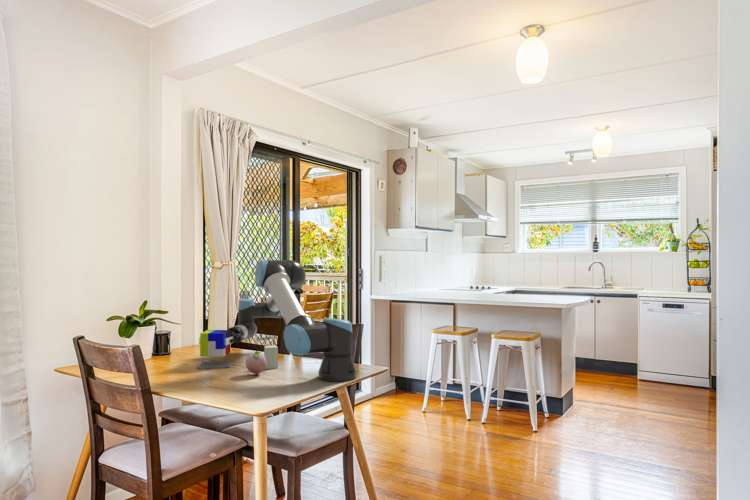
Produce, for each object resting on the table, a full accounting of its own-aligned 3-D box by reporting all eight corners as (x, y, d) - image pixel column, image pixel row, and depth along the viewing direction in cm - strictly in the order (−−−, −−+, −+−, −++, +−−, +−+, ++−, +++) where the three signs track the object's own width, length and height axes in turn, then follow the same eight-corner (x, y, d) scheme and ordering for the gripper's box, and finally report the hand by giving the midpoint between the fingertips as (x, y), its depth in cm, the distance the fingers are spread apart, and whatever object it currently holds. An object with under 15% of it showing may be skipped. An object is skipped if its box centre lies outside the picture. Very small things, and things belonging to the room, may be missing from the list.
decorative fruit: (244, 373, 210) (244, 348, 210) (265, 371, 212) (265, 347, 212) (246, 378, 201) (246, 352, 201) (267, 376, 203) (267, 351, 203)
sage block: (277, 368, 219) (277, 347, 219) (266, 369, 217) (266, 348, 217) (275, 365, 223) (275, 345, 224) (264, 366, 222) (264, 346, 222)
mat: (229, 367, 219) (229, 366, 219) (197, 369, 217) (197, 367, 217) (231, 361, 232) (231, 360, 232) (201, 362, 229) (201, 361, 229)
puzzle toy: (223, 356, 219) (223, 333, 219) (200, 356, 220) (200, 333, 220) (230, 352, 229) (230, 330, 229) (208, 352, 230) (208, 329, 230)
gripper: (259, 342, 241) (237, 351, 220) (214, 340, 246) (188, 348, 225) (259, 327, 241) (237, 334, 220) (214, 325, 246) (188, 331, 225)
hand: (212, 341), depth 222 cm, fingers closed on puzzle toy, 11 cm apart
